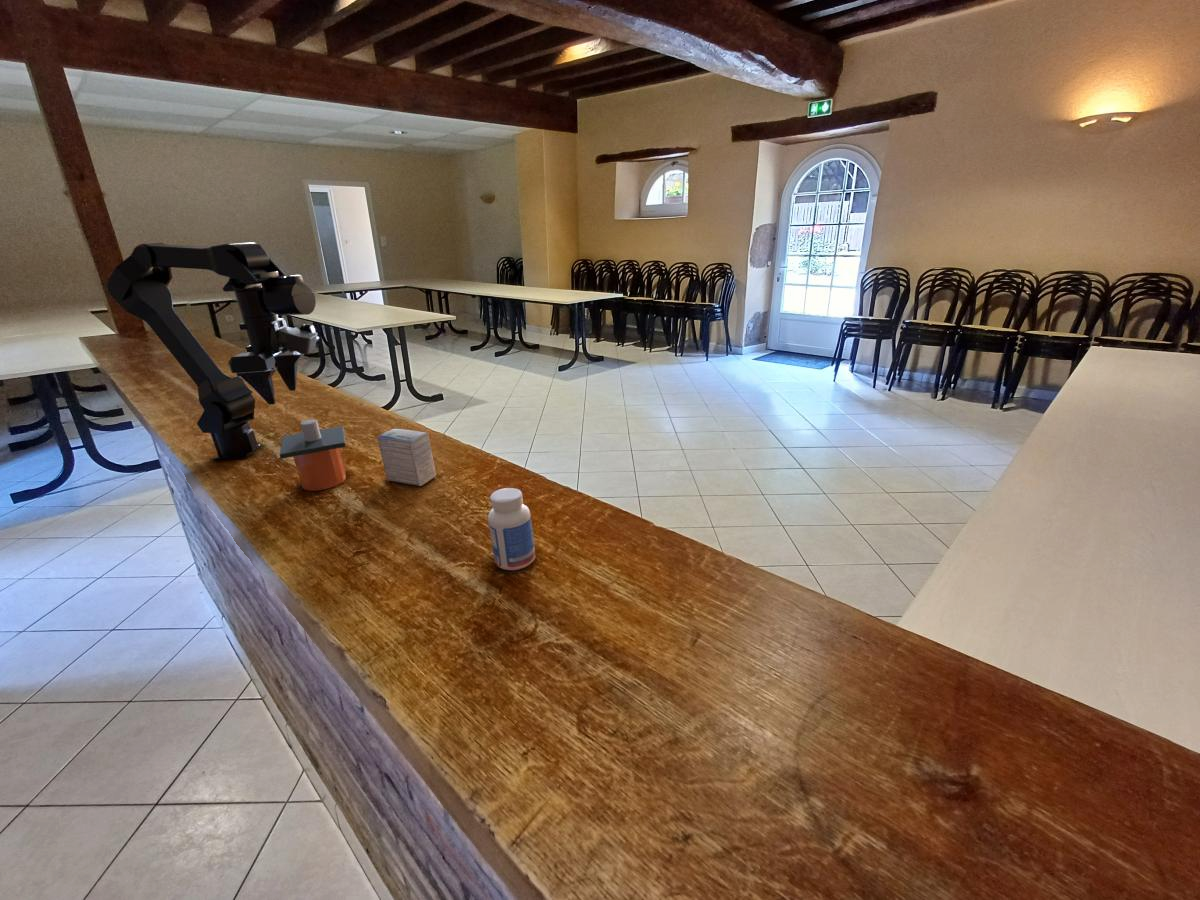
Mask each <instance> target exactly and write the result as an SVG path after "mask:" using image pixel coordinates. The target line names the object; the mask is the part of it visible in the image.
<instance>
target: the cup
mask: <svg viewBox="0 0 1200 900" xmlns="http://www.w3.org/2000/svg"><path fill="white" fill-rule="evenodd" d="M292 458H293V461H294V464H295V469H296V470H297V474H298V479H299V482H300V486H301V488H302V489H303V490H305V491H310V492H311V491H312V492H314V491H315V492H316V491H323V490H324V491H325V490H327V489H332V488H335V487H336V486H339V485H340V484H342V483H344V482H345V480H346V479H347V474H346V470H345V466H344V462H343V458H342V454H341V451H340V448H336V449H330V450H325V451H320V452H314V453H309V454H304V455H299V456H293V457H292Z"/></svg>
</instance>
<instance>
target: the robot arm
mask: <svg viewBox="0 0 1200 900" xmlns="http://www.w3.org/2000/svg"><path fill="white" fill-rule="evenodd" d="M151 268H152V269H151ZM172 268H175V269H176V268H177V269H193V270H206V271H210V272H213V273H215V274H217V275H218V276H222V277H226V278H228V281H227V282H226V284H224V286H223V287H222V291H223V292H225V293H226V292H227V293H228V292H234V296H235V298H236V302H237V305H238V309H239V312H240V316H241V318H242V323H239V324H238V326H239V329H240V330H239V331H245V332H246V336H247V339H248V343H249V345H247V346H245V349H246V351H245V352H240V353H238V354H235V355H233V356H231V357H230V359H229V360H228V362H227V363H228V366H229V370H230V373H231V374H236V376H234V377H230V376H229V375H227V374H225V373H224V372H223V371H222V370H221V369H220V368H219V366H218V365H217V364H216V362H214V360H213V359H212V358H211V356H210V355H209V353H207V351H206V350H205V349H204V347H203V346H202V345H201V343H200V342H199V341H198V339H197V338H196V337H195V336H194V335H193V333H192V332H191V330H190V329H189V328H188V326H187V325H186V324H185V323H184V321H183V320H182V319H181V318H180V316H179V315H178V314H177V313H176V311H175V310H174V304H173V295H172V292H171V291H170V289H169V287H168V286H169V284H170V282H171V281H172V279H173V274H172ZM107 279H108V280H107V283H106V289H107V291H108V294H109V295H110V296H111V298H112V299H113V300H114V301H115V302H116V303H117V304H118V305H119V306H120V307H121V308H122V309H123V310H124V311H125V312H127V313H128V314H130V315H133V317H134V316H135V317H136V318H138V319H140V320H142V321H144V322H146V324H147V325H148V326H149V327H150V329H151V330H152V331H153V333H154V334H155V335H156V336H157V337H158V339H159V341H161V343H163V345H164V346H165V347H166V349H167V350H168V351H169V352H170V354H171V355H172V356H173V357H174V358H175V360H176V361H177V362H178V364H179V365H180V366H181V367H182V369H183V370H184V371H185V373H186V374H187V375H188V376H189V377H190V378H191V380H192V381H193V383H194V384H195V386H196V387H197V396H198V402H199V404H200V406H201V407H202V409H203V412H202V414H201V415H200V417H199V419H198V420H197V421H196V425H197V427H198V428H199V429H200V431H201V432H202V433H203V434H210V437H211V439H212V442H213V445H214V448H215V452H216V455H215V456H214V457H213V460H214V461H223V460H234V459H235V460H236V459H245V458H248V457H249V456H251V455H252V454H254V453H255V452H256V451H257V450H259V449H260V448H261V447H262V446H261V444H260V443H259V444H258V441H257V437H256V434H255V432H254V429H253V428H251V425H250V423H249V421H252V420H254V419H255V408H256V404H255V403H256V399H255V397H254V395H253V393H254V391H253V390H255V392H256V393H257V394H258V395H259V396H260V397H261V398H262V399H263V400H264V401H265V402H266V403H267V404H268V405H270V406H271V405H275V404H276V394H275V388H274V382H273V375H274V374H275V373H276V372H277V373H278V375H279V376H280V378H281V379H282V381H283V383H284V384H285V386H286V387H287V389H288V391H290V392H292V391H293V392H294V391H296V390H297V378H298V377H297V375H298V363H299V361H300V360H301V359H302V358H303V356H305V355H309V354H311V352H314V351H316V345H317V342H318V341H319V340H320V337H319V336H318V334H319V333H318V332H317V331H316V328H315V326H314V325H313V324H310V323H303V324H302V325H301V326H300V327H299V328H298V327H296V326H295V327H290V326H288V325H287V322H286V320H285V319H284V318H283V317H279V316H305V315H306V316H307V315H308V316H309V315H311V314H312V313H313V312H314V310H315V308H316V303H317V302H316V295H315V292H314V291H313V290H312V288H311V287H310V285H309V284H307V283H306V282H304V279H303V276H302V275H301V274H295V275H294V274H293V275H288V276H287V274H285V272H283V270H282V269H281V268H280V267H279V266H278V264H277V263H276V262H275V261H274V260H273V259H272V258H271V257H270V256H269V255H268V253H267V252H266V250H265V249H264V248H263V246H262V245H261V244H260V243H257V242H254V241H253V242H251V241H250V242H237V243H235V242H234V243H224V244H218V245H212V246H200V245H181V244H180V245H179V244H166V243H163V242H150V243H140V244H139V245H136V246H135V247H134V248H133V250H132V252H131V254H130V255H129V256H128V257H127V258H125V259H124V260H123V261H122V262H120V263H119V264H118V265H117V266H115V268H114V269H113V271H112V273H111V274H110V275H109V277H108V278H107ZM245 382H246V383H247V384H248V385H250V387H251V388H253V390H252V389H251V388H249V387H248V386H247V385H246V383H245Z"/></svg>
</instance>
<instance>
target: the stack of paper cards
mask: <svg viewBox="0 0 1200 900" xmlns="http://www.w3.org/2000/svg"><path fill="white" fill-rule="evenodd" d="M430 442H431V441H430V437H429V434H428V432H425V431H424V432H423V431H417V430H412V429H411V430H410V429H402V428H392V429H390V430H387V431H385V432H384V433H382V434H380V435H378V436H377V443H378V447H379V451H380V456H381V459H382V465H383V469H384V473H385V478H386V480H387V481H390V482H396V483H401V484H408V485H413V486H418V487H421V486H423V485H425V484H427V483H428V482H430V481H431V480H434V478H436V477H437V473H436V468H435V463H434V458H433V453H432V447H431V443H430Z"/></svg>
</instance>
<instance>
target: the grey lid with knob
mask: <svg viewBox="0 0 1200 900" xmlns="http://www.w3.org/2000/svg"><path fill="white" fill-rule="evenodd" d="M300 428H301V432H297V433H292V434H287V435H282V438H281V444H280V451H279V458H280V460H281V459H288V458H294V457H293V456H299V455H304V454H309V453H314V452H320V451H325V450H330V449H336V448H339V449H341V448H346V447H347V444H346V436H345V435H346V434H345V428H344V425H338V426H333V427H332V426H331V427H325V428H321V429H320V428H319V424H318V419H306V420H303V421H301V422H300Z"/></svg>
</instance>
